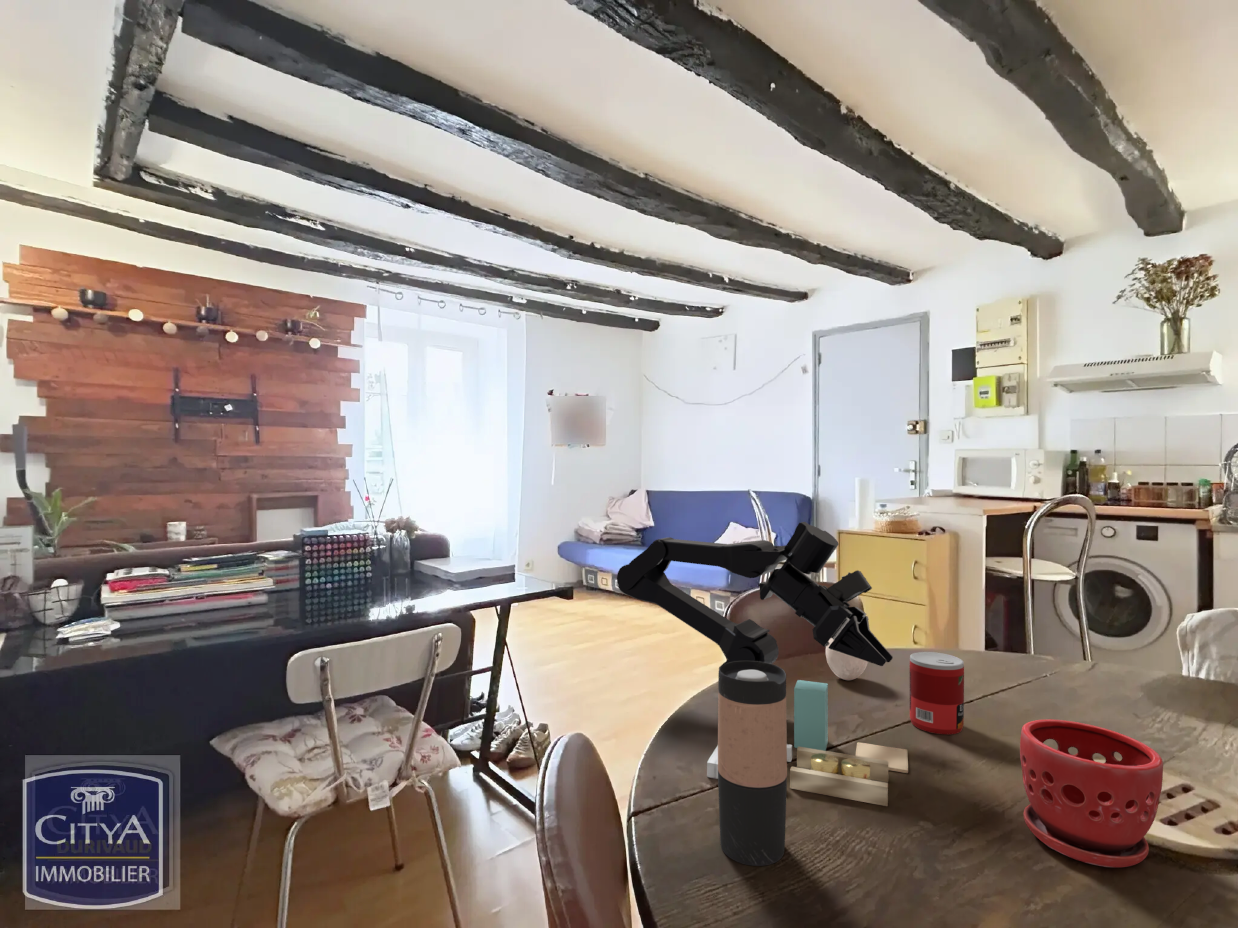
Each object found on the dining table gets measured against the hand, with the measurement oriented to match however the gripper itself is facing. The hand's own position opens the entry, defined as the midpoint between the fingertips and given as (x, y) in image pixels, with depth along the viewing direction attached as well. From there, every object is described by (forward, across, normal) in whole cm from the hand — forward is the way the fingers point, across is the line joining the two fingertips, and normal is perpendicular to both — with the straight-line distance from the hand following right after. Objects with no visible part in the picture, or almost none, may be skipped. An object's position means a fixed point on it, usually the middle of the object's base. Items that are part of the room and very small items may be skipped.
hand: (888, 661), depth 101 cm
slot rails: (+5, -12, +16) cm, 20 cm away
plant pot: (+28, -13, +1) cm, 31 cm away
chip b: (+7, -12, +14) cm, 20 cm away
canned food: (+11, +14, +5) cm, 19 cm away
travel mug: (+2, -31, +23) cm, 39 cm away
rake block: (-1, -2, +17) cm, 17 cm away
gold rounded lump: (+4, -12, +17) cm, 21 cm away
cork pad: (+7, -2, +12) cm, 14 cm away
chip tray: (-5, -13, +22) cm, 26 cm away
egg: (-5, +31, +12) cm, 33 cm away
